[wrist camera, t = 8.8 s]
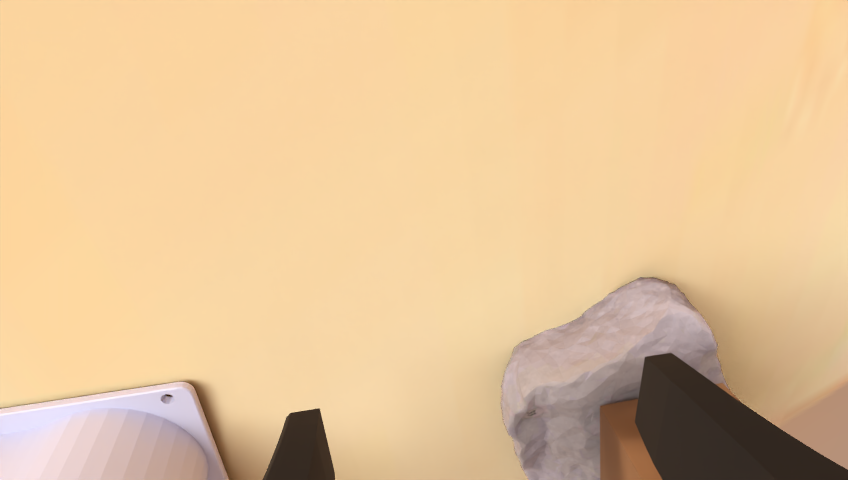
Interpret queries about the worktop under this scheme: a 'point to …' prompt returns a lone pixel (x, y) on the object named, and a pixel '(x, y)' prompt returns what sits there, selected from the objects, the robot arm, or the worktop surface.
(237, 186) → the worktop surface
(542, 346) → the stone block
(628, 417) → the walnut cube
